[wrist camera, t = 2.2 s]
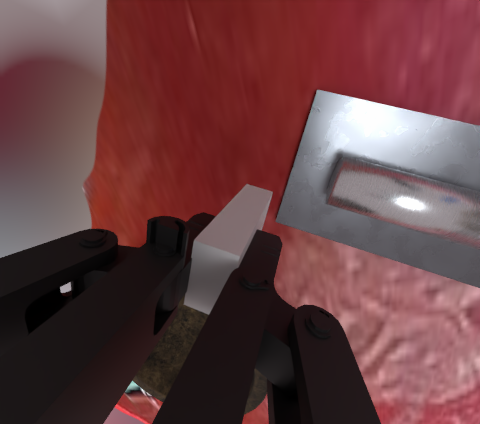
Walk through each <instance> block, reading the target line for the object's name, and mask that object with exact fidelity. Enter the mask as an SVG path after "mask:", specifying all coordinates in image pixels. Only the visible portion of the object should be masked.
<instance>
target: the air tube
mask: <svg viewBox="0 0 480 424" xmlns="http://www.w3.org/2000/svg"><path fill="white" fill-rule="evenodd" d="M325 204H327V205H331V206H334V207H337V208H341V209H344V210H347V211H351V212H354V213H357V214H361V215H364V216H367V217H371V218H374V219H377V220H381V221H384V222H387V223H391V224H394V225H397V226H401V227H404V228H407V229H411V230H414V231H417V232H420V233H424V234H427V235H430V236H434V237H437V238H440V239H444V240H447V241H450V242H454V243H457V244H460V245H464V246H467V247H470V248H474V249H477V250H480V192H479V191H475V190H471V189H467V188H464V187H460V186H456V185H452V184H448V183H445V182H441V181H437V180H433V179H430V178H426V177H422V176H418V175H415V174H411V173H407V172H403V171H399V170H396V169H392V168H388V167H384V166H381V165H377V164H373V163H369V162H365V161H362V160H358V159H354V158H350V157H347V156H342V157H341V158H340V160H339V162H338V163H337V165H336V168H335V170H334V172H333V175H332V177H331V180H330V183H329V186H328V189H327V193H326V198H325Z"/></svg>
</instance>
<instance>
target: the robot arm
mask: <svg viewBox="0 0 480 424" xmlns="http://www.w3.org/2000/svg"><path fill="white" fill-rule="evenodd" d="M272 194H273V192H272V191H268V190H265V189H262V188H258V187H255V186H252V185H249V184H246V185H245V186H244V187H243V188H242V190H241V191H240V192H239V193H238V194H237V195H236V196H235V197H234V198H233V199H232V200H231V201H230V202H229V203H228V204H227V205H226V207H225V208H224V209H223V210H222V211H221V212H220V213H219V214H218V215H217V216H213V215H210V214H207V213H204V212H203V213H200V214H196V215H194V216H193V217H192V218H190V219H189V220H188V221H187V222H185V221H183V220H181V219H179V218H175V217H171V216H159V217H154V218H151V219H149V220H148V224H147V240H146V243H145V244H144V245H143V246H141V247H140V248H138V247H129V246H121V245H118V239H117V236H116V235H115V234H114V233H113V232H111V231H109V230H104V229H88V230H83V231H79V232H76V233H73V234H70V235H68V236H65V237H61V238H58V239H55V240H53V241H50V242H47V243H44V244H41V245H38V246H35V247H32V248H29V249H26V250H23V251H20V252H17V253H14V254H11V255H8V256H5V257H2V258H0V424H103V423H104V421H105V420H106V419H107V417H108V415H109V414H110V412H111V411H112V410H113V408H114V407H115V405H116V404H117V402H118V401H119V399H120V398H121V396H122V395H123V393H124V392H125V390H126V389H127V388H128V386H129V385H130V383H131V382H132V380H133V379H134V377H135V376H136V374H137V373H138V371H139V370H140V368H141V367H142V365H143V364H144V362H145V361H146V359H147V358H148V356H149V355H150V353H151V352H152V350H153V349H154V347H155V346H156V345H157V343H158V342H159V340H160V339H161V337H162V336H163V334H164V333H165V331H166V330H167V328H168V327H169V325H170V324H171V322H172V321H173V319H174V318H175V316H176V314H177V311H178V305H179V302H180V301H181V299H182V298H183V296H184V295H185V299H184V305H186V306H189V307H191V308H194V309H196V310H199V311H201V312H204V313H206V314H209V316H208V318H207V320H206V321H205V323H204V325H203V327H202V329H201V331H200V333H199V335H198V337H197V339H196V341H195V343H194V344H193V346H192V348H191V350H190V352H189V354H188V356H187V358H186V360H185V362H184V364H183V366H182V367H181V369H180V371H179V373H178V375H177V377H176V379H175V381H174V383H173V385H172V387H171V388H170V390H169V392H168V394H167V396H166V398H165V400H164V402H163V404H162V406H161V408H160V410H159V411H158V413H157V415H156V417H155V419H154V421H153V423H152V424H242V421H243V416H244V412H245V408H246V404H247V399H248V395H249V391H250V387H251V382H252V378H253V374H254V369H256V370H258V371H259V372H260V373H261V374H262V375H263V376H265V377H266V378H267V396H268V414H269V424H381V422H380V420H379V417H378V415H377V412H376V410H375V407H374V405H373V402H372V400H371V397H370V395H369V392H368V390H367V387H366V385H365V382H364V380H363V377H362V375H361V372H360V370H359V367H358V365H357V362H356V360H355V357H354V355H353V352H352V349H351V347H350V344H349V342H348V339H347V337H346V334H345V332H344V330H343V328H342V326H341V325H340V323H339V321H338V320H337V319H336V318H335V317H334V316H333V315H332V314H331V313H329V312H327V311H326V310H324V309H323V308H320V307H317V306H314V305H303V306H300V307H298V308H297V309H296V308H294V307H292V306H291V305H289V304H288V303H287V302H285V301H284V300H283V299H282V298H281V297H280V296H279V295H278V294H277V292H276V290H275V288H274V277H275V273H276V269H277V265H278V260H279V256H280V252H281V248H282V242H281V240H280V237H279V236H276V235H273V234H270V233H267V232H264V231H262V228H263V225H264V221H265V218H266V214H267V211H268V208H269V204H270V201H271V197H272ZM69 282H71V291H69V292H66V293H61V292H60V287H61V286H63V285H65V284H67V283H69Z"/></svg>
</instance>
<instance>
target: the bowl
mask: <svg viewBox="0 0 480 424" xmlns="http://www.w3.org/2000/svg"><path fill="white" fill-rule="evenodd" d="M184 299H185V295H184V296H183V298H182V299H181V301H180V302H179V305H178V311H177V314H176V316H175V318H174V319H173V321H172V322H171V324H170V325H169V327H168V328H167V330H166V331H165V333H164V334H163V336H162V337H161V339H160V340H159V342H158V343H157V345H156V346H155V347H154V349H153V350H152V352H151V353H150V355H149V356H148V358H147V359H146V361H145V362H144V364H143V365H142V367H141V368H140V370H139V371H138V373H137V374H136V376H135V377H134V379H133V381H134V382H135V383H136V384H137V385H138V386H140V387H141V388H142V389H143V390H145V391H146V392H147V393H149V394H150V395H152V396H154V397H155V398H157V399H158V400H160V401H162V402H164V400H165V398H166V396H167V394H168V392H169V390H170V388H171V387H172V385H173V383H174V381H175V379H176V377H177V375H178V373H179V371H180V369H181V367H182V366H183V364H184V362H185V360H186V358H187V356H188V354H189V352H190V350H191V348H192V346H193V344H194V343H195V341H196V339H197V337H198V335H199V333H200V331H201V329H202V327H203V325H204V323H205V321H206V320H207V318H208V316H209V314H206V313H204V312H201V311H199V310H196V309H194V308H191V307H189V306H186V305H184ZM266 394H267V378H266V377H265V376H263V375H262V374H261V373H260V372H259V371H258V370H256V369H254V374H253V378H252V382H251V387H250V391H249V395H248V399H247V404H246V408H245V412H244V414H246V413H248V412H250V411H252V410H254V409H255V408H256V407H257V406H258V405H259V404H260V403H261V402H262V401H263V400H264V398H265V396H266Z"/></svg>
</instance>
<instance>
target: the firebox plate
mask: <svg viewBox="0 0 480 424" xmlns="http://www.w3.org/2000/svg"><path fill="white" fill-rule="evenodd" d="M342 156H347V157H350V158H354V159H358V160H362V161H365V162H369V163H373V164H377V165H381V166H384V167H388V168H392V169H396V170H399V171H403V172H407V173H411V174H415V175H418V176H422V177H426V178H430V179H433V180H437V181H441V182H445V183H448V184H452V185H456V186H460V187H464V188H467V189H471V190H475V191H479V192H480V126H477V125H473V124H468V123H464V122H460V121H455V120H451V119H446V118H442V117H437V116H433V115H428V114H424V113H419V112H415V111H411V110H406V109H402V108H397V107H393V106H388V105H384V104H379V103H375V102H371V101H366V100H362V99H357V98H353V97H348V96H344V95H339V94H335V93H330V92H326V91H322V90H317V92H316V95H315V98H314V102H313V105H312V108H311V111H310V114H309V117H308V121H307V124H306V127H305V130H304V133H303V136H302V140H301V143H300V146H299V149H298V152H297V155H296V158H295V162H294V165H293V168H292V171H291V174H290V177H289V181H288V184H287V187H286V190H285V193H284V196H283V199H282V203H281V206H280V209H279V212H278V215H277V218H276V222H278V223H281V224H284V225H287V226H290V227H293V228H296V229H299V230H302V231H306V232H309V233H312V234H315V235H318V236H321V237H324V238H327V239H330V240H333V241H336V242H339V243H343V244H346V245H349V246H352V247H355V248H358V249H361V250H364V251H367V252H370V253H373V254H377V255H380V256H383V257H386V258H389V259H392V260H395V261H398V262H401V263H404V264H407V265H410V266H414V267H417V268H420V269H423V270H426V271H429V272H432V273H435V274H438V275H441V276H444V277H448V278H451V279H454V280H457V281H460V282H463V283H466V284H469V285H472V286H475V287H478V288H480V250H477V249H474V248H470V247H467V246H464V245H460V244H457V243H454V242H450V241H447V240H444V239H440V238H437V237H434V236H430V235H427V234H424V233H420V232H417V231H414V230H411V229H407V228H404V227H401V226H397V225H394V224H391V223H387V222H384V221H381V220H377V219H374V218H371V217H367V216H364V215H361V214H357V213H354V212H351V211H347V210H344V209H341V208H337V207H334V206H331V205H327V204H325V198H326V193H327V189H328V186H329V183H330V180H331V177H332V175H333V172H334V170H335V168H336V165H337V163H338V162H339V160H340V158H341V157H342Z"/></svg>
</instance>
